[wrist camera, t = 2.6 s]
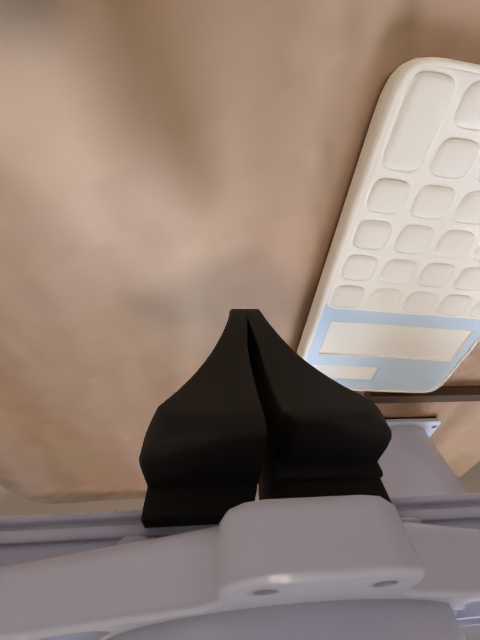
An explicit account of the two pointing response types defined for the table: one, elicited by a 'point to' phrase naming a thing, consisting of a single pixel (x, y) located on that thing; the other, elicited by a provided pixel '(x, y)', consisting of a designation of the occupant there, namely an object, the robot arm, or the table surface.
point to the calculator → (406, 240)
